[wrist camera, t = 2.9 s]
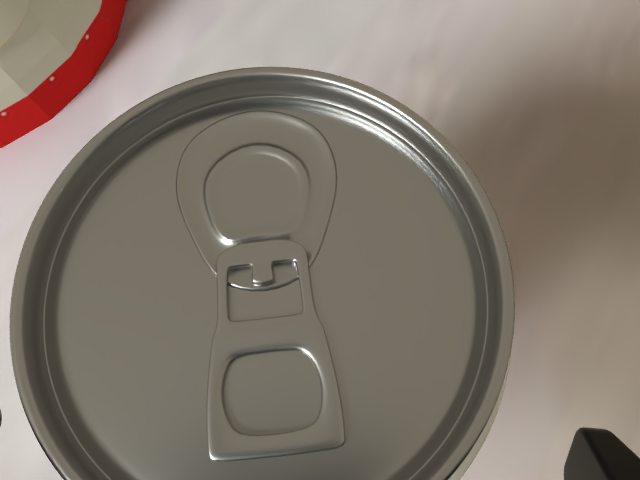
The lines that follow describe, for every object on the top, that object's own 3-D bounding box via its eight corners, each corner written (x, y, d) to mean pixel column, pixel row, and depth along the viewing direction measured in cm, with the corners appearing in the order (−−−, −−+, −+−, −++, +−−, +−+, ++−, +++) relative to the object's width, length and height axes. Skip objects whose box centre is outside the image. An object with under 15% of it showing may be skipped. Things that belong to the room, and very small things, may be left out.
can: (401, 256, 19) (492, 6, 7) (434, 468, 17) (627, 582, 5) (205, 279, 19) (-13, 66, 7) (216, 492, 17) (-56, 657, 5)
